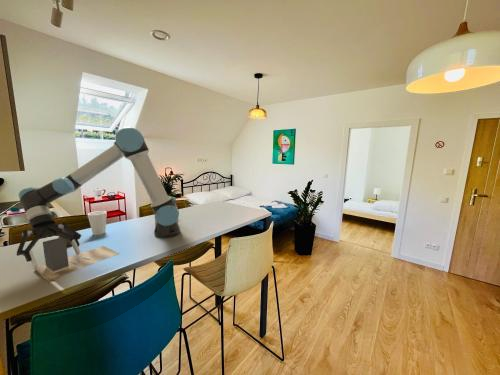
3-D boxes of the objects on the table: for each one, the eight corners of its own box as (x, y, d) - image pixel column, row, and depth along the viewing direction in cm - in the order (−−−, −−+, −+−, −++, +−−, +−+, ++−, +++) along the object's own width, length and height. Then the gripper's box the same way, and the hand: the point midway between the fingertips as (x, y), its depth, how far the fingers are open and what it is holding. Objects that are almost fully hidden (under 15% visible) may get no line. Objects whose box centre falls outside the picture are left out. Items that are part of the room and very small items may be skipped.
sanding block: (69, 267, 88) (65, 242, 87) (53, 273, 84) (49, 246, 82) (61, 262, 92) (58, 238, 91) (46, 267, 88) (42, 241, 87)
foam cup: (86, 234, 128) (84, 213, 127) (101, 229, 137) (99, 210, 135) (96, 236, 125) (94, 215, 123) (111, 231, 134) (110, 211, 132)
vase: (55, 246, 111) (53, 230, 110) (70, 241, 118) (68, 226, 116) (64, 248, 109) (62, 232, 108) (78, 243, 115) (77, 228, 114)
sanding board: (103, 248, 110) (103, 245, 110) (120, 255, 102) (119, 253, 102) (34, 270, 88) (34, 267, 88) (49, 282, 80) (48, 279, 80)
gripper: (73, 216, 104) (91, 252, 99) (-4, 231, 83) (13, 278, 78) (77, 207, 101) (95, 244, 95) (-3, 221, 80) (15, 269, 74)
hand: (58, 259), depth 86 cm, fingers open, 13 cm apart
